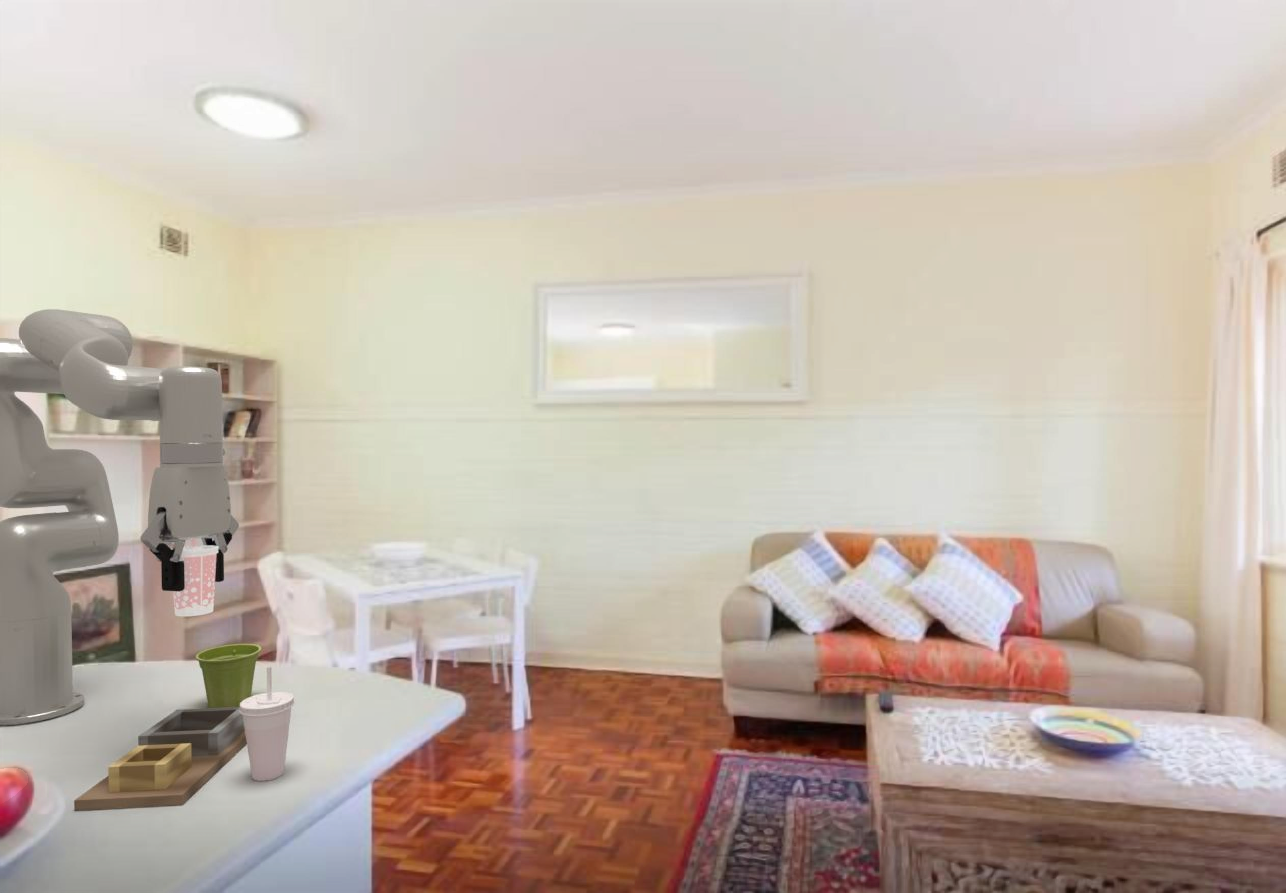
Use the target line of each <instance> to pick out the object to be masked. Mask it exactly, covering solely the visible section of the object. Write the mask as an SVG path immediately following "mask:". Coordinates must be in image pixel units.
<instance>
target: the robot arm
mask: <svg viewBox="0 0 1286 893" xmlns="http://www.w3.org/2000/svg"><path fill="white" fill-rule="evenodd" d="M18 337H19V339H17V338H9V337H6V338H5V337H0V507H1V508H3V509H32V508H33V509H34V508H46V507H47V508H48V507H60V506H65V507H66V509H67V510H68V511H61V512H47V513H46V512H45V513H33V514H22V515H16V516H12V517H8V518H5V519H3V520H1V521H0V726H13V725H24V724H28V723H29V724H31V723H36V722H41V721H44V720H50V719H53V718H57V717H61V716H63V715H67V714H70V713H71V712H74V711H77V709H80V708H81V707H82V706H83V705H84V704H85V695H84V694H83V693H81V692H77V691H73V690H74V688H73V639H72V638H73V637H72V635H73V631H72V630H73V629H72V600H71V597H70V593H69V591H68V589H67V588H65V586H64V585H63V583H61V582H60V581H59V580H58V578H56V577H55V574H54V572H60V571H66V570H71V569H79V568H86V567H92V566H97V565H98V566H99V565H102V564H104V563H105V564H106V562H109V561H110V560H111V559H112V558H113V557H114V556H115V554H116V552H117V550H118V548H119V542H120V540H119V538H120V537H119V536H120V535H119V528H118V524H117V518H116V514H115V508H114V503H113V498H112V494H111V490H110V484H109V479H108V476H107V472H106V470H105V467H104V465H103V463H102V462H101V461H100V459H99V458H98V457H97V456H96V455H95V454H93V453H91V452H89V451H87V450H84V449H76V448H75V449H74V448H72V449H69V448H67V449H66V448H64V449H54V448H51V447H50V446H49V445H48V443H47V439H46V435H45V429H44V424H43V422H42V420H41V418H40V417H39V415H37V414H36V412H35V411H34V410H33V409H32V408H31V407H30V406H29V405H28V404H26V403H25V402H24V401H23V400H21V399H20V398H19V397H17V396H16V394H15V393H31V394H33V393H35V394H37V393H38V394H59V395H60V394H61V395H64V397H65V398H66V399H67V400H68V401H69V402H70V403H71V404H73V405H74V406H76V407H77V408H79V409H80V410H83V411H84V412H86V413H87V414H89V415H90V416H91V415H92V416H93V417H96V418H100V419H104V420H111V421H149V422H150V421H151V422H159V467H155V468H154V471H153V475H152V479H151V483H150V484H151V485H150V489H149V498H148V510H147V511H148V513H147V528H146V529H145V530H144V531H143V533H142V534H141V536H140V538H139V539H140V541H141V543H143V544H144V545H145V546H146V547H147V548H148V549H149V551H150V552H151V553H152V554H153V555H154V556H155V558H156V561H157V562H160V563H161V564H160V565H161V566H160V567H161V570H160V571H161V574H160V575H161V590H162V591H163V592H173V591H183V590H184V588H185V578H184V561H179V560H180V557H181V554H182V551H183V548H184V547H185V544H186V541H188V540H191V539H195V540H196V539H201V541H202V545H214V546H218V547H219V549H218V553H217V554H216V573H215V583H220V582H224V580H225V560H224V559H225V558H224V554H226V553H227V552H228V548H229V547H228V545H229V544H230V543H231V541H232V539H233V536H234V535H235V533H236V532H237V530H238V529H239V527H240V524H239V522H238V521H237V520H236V518H234V517H233V515H232V512H231V511H232V507H231V494H230V487H229V486H230V484H229V480H228V475H227V471H226V470H227V469H226V465H224V456H225V454H226V450H225V448H224V447H223V446H224V444H223V441H224V440H223V433H224V432H223V381H222V377H221V374H220V372H219V371H217V370H216V369H213V368H210V367H203V366H188V365H187V366H185V365H184V366H182V365H181V366H169V367H166V368H156V367H150V366H149V367H147V366H135V365H128V364H129V359H130V357H131V355H132V353H133V347H134V342H133V337H132V334H131V332H130V330H129V329H128V327H127V326H126V325H125V324H124V323H123V322H122V321H120V320H119V319H117V318H115V317H111V316H108V315H103V314H102V315H101V314H95V313H88V312H79V311H75V310H74V311H73V310H64V309H57V308H56V309H55V308H53V309H51V308H49V309H42V310H41V309H40V310H38V311H34V312H32V313H30V314H29V315H27V316H26V317H25V318H24V319H23V320H22V321H21V322H20V325H19V329H18ZM172 544H173V545H172ZM171 546H172V548H171ZM171 549H172V550H171Z"/></svg>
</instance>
